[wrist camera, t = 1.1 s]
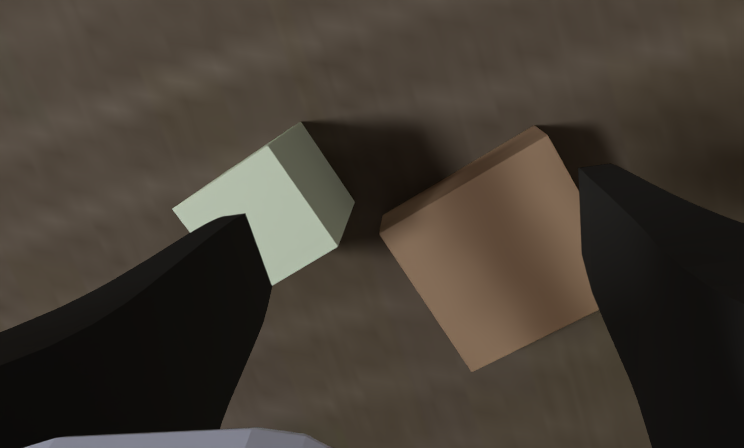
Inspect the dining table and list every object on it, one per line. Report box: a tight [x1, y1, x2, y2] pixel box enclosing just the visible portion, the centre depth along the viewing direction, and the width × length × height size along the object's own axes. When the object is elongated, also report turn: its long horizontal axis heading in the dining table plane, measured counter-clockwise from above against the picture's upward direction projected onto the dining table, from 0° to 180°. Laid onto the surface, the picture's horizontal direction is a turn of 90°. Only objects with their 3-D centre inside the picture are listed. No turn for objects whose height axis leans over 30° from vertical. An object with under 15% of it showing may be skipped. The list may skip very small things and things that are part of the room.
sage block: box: [173, 122, 355, 285], centre depth 24 cm, size 4×4×6 cm
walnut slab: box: [379, 125, 599, 372], centre depth 25 cm, size 8×8×3 cm
